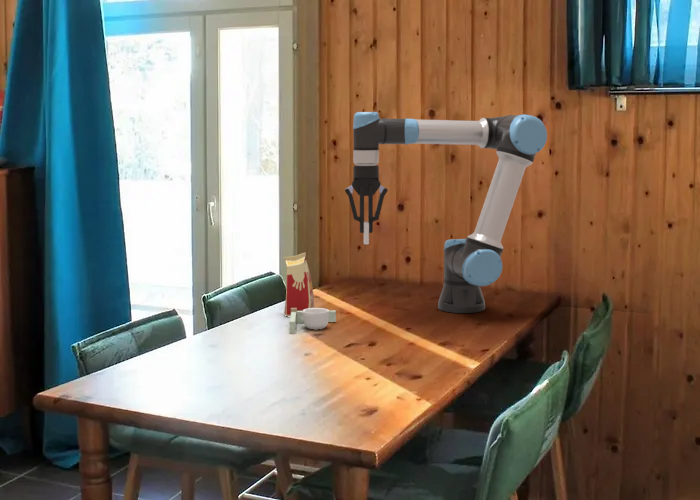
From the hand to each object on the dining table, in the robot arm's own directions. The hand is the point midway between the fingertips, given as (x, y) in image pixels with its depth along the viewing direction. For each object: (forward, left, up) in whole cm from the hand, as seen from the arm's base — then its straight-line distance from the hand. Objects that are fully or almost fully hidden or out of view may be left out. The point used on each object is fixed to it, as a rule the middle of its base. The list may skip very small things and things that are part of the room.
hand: (366, 243), depth 268 cm
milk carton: (+21, -14, -25) cm, 35 cm away
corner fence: (+16, +4, -24) cm, 30 cm away
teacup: (+16, +5, -25) cm, 30 cm away
